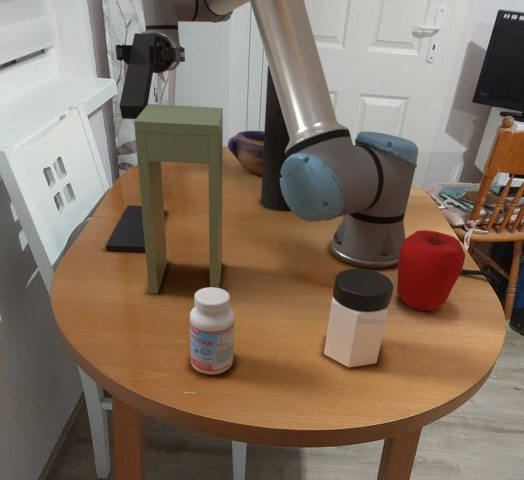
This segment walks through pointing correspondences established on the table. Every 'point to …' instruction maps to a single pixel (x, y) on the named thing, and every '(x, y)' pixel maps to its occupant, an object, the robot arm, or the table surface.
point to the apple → (428, 269)
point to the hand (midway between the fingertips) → (138, 54)
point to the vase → (273, 150)
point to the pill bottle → (211, 331)
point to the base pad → (128, 232)
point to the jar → (358, 316)
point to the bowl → (248, 150)
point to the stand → (182, 151)
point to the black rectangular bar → (138, 77)
